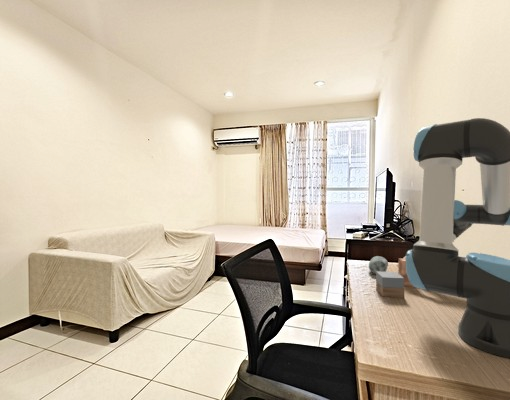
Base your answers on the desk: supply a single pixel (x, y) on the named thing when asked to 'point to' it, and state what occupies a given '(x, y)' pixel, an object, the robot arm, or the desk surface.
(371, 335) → the desk surface
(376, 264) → the spool
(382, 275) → the top slab
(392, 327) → the desk surface
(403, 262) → the tall block
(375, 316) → the desk surface
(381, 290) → the bottom slab
